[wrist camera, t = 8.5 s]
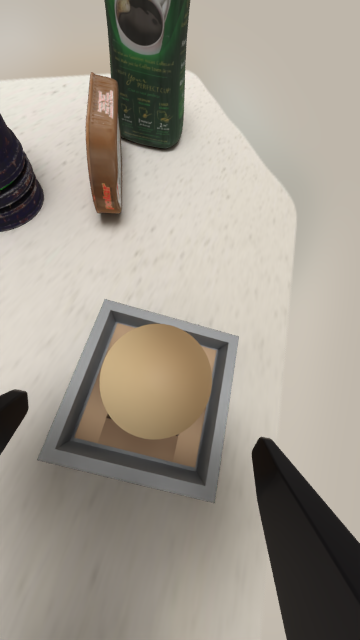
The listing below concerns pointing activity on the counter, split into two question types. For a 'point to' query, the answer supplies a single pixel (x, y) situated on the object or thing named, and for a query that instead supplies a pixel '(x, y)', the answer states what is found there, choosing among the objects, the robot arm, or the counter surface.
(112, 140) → the tin
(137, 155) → the counter surface
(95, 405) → the socket block
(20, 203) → the dark blue cylinder
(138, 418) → the dowel
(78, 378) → the tray
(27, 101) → the counter surface
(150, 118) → the coffee jar
